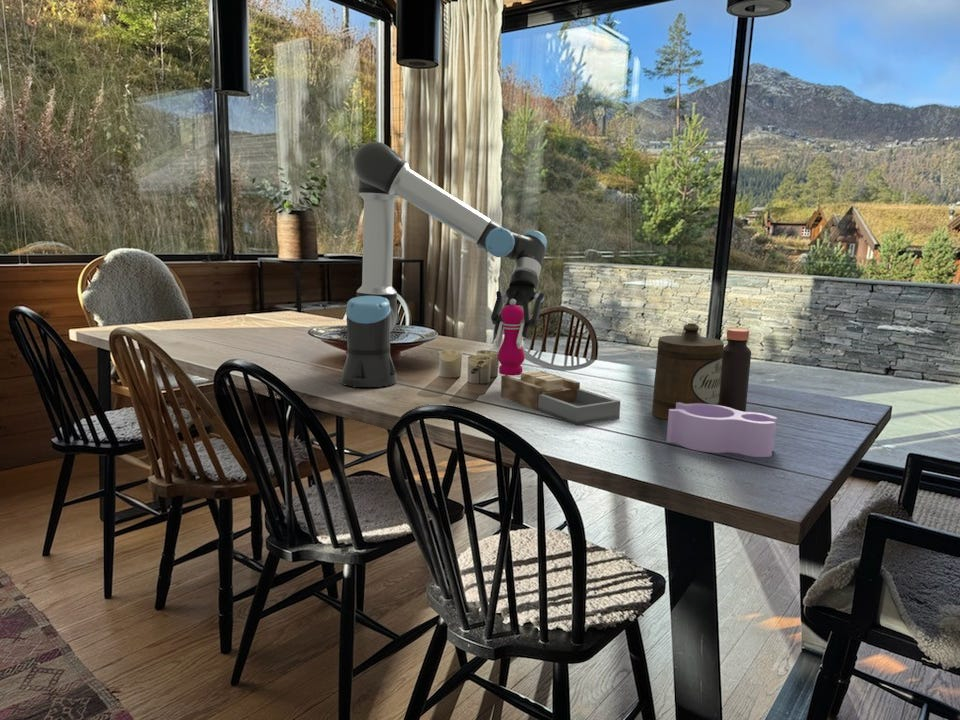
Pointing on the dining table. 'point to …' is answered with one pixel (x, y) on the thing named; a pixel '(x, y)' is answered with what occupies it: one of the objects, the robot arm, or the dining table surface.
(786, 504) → the dining table surface
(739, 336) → the bottle
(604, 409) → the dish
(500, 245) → the robot arm
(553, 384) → the chip
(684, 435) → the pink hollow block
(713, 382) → the wooden container
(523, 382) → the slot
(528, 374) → the chip
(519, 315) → the pepper mill
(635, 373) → the dining table surface
